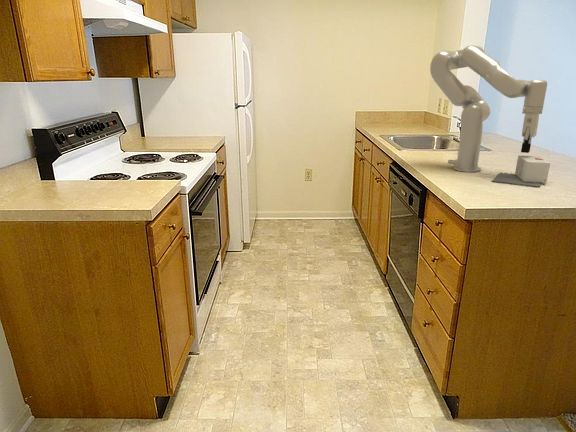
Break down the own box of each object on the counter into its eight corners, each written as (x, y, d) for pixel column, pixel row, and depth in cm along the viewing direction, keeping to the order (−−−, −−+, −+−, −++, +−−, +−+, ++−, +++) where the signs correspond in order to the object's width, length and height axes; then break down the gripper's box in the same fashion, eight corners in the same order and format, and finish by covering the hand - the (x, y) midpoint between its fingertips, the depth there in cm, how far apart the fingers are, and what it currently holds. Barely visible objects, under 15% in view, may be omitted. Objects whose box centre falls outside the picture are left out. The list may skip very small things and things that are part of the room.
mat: (491, 181, 179) (491, 180, 179) (499, 173, 194) (499, 172, 194) (539, 187, 169) (539, 186, 169) (543, 178, 184) (544, 177, 184)
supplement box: (540, 155, 184) (551, 162, 171) (535, 175, 187) (547, 183, 174) (517, 154, 186) (527, 161, 173) (514, 174, 189) (523, 182, 176)
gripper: (540, 111, 171) (532, 155, 177) (544, 109, 182) (536, 150, 188) (520, 111, 175) (513, 154, 181) (525, 108, 186) (518, 149, 192)
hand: (525, 152), depth 184 cm, fingers closed
